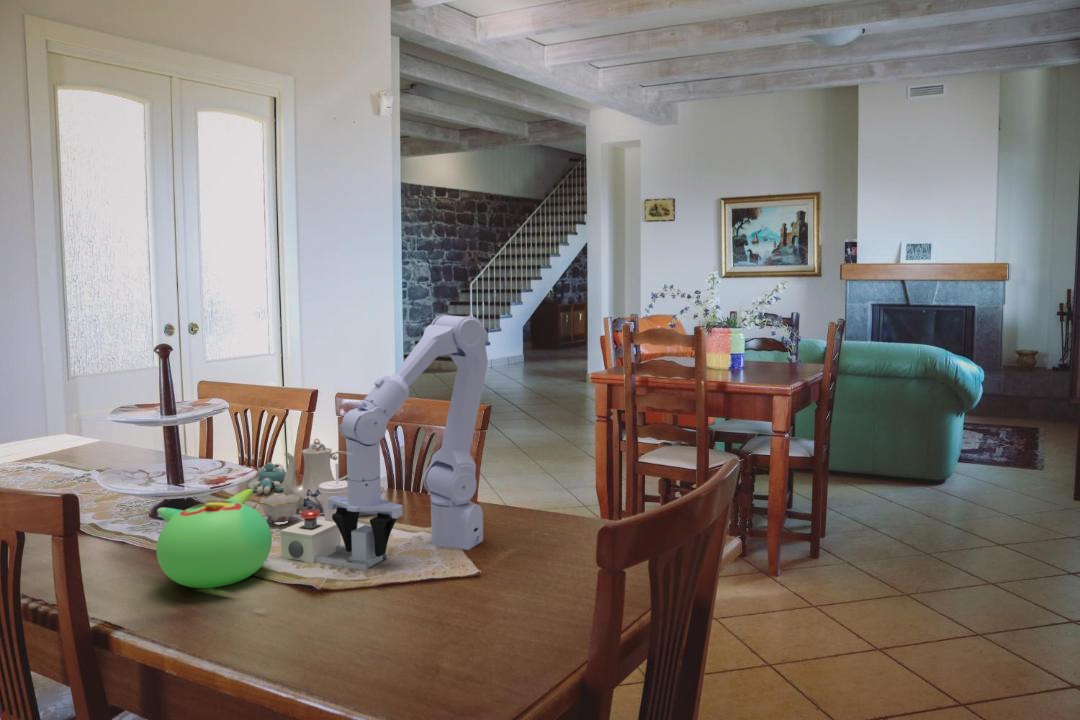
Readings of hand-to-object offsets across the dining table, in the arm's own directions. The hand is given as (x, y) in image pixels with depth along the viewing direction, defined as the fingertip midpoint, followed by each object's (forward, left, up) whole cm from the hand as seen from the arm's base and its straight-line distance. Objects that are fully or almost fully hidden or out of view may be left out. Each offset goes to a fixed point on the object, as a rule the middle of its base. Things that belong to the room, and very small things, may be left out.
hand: (365, 552), depth 149 cm
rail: (+3, 0, -3) cm, 4 cm away
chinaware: (+29, -24, -3) cm, 37 cm away
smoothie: (+18, -15, -3) cm, 24 cm away
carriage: (0, 0, -2) cm, 2 cm away
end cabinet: (+12, 0, -3) cm, 12 cm away
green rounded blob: (+19, +16, -3) cm, 25 cm away
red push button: (+12, 0, +1) cm, 12 cm away
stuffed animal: (+53, -35, -3) cm, 63 cm away
